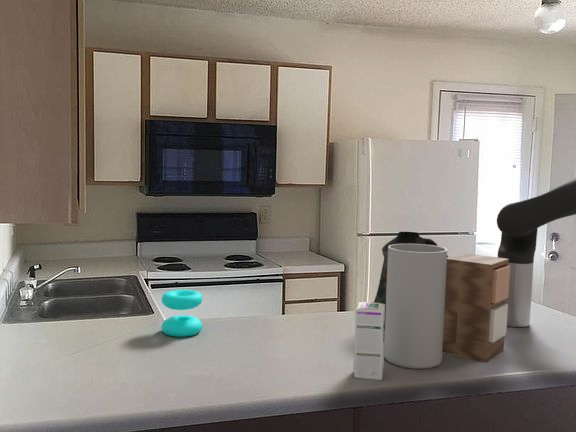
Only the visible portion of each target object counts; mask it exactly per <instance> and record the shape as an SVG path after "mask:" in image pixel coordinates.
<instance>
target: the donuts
mask: <svg viewBox="0 0 576 432" xmlns="http://www.w3.org/2000/svg"><path fill="white" fill-rule="evenodd" d="M202 302H203V296H202V294H201V293H200V292H199V291H197V290H191V289H174V290H170V291H167V292H165V293H163V295H162V296H161V303H162V305H163V306H165V308H168V309H170V310H177V311H185V310H192V309H195V308H196V307H199V306H200V305H201V304H202ZM202 329H203V323H202V321H201V320H200V319H199V318H197V317H196V316H192V315H184V314H183V315H175V316H170V317H168V318H166V319H165V320H164V321H163V322H162V324H161V331H162V332H163V334H165V335H167V336H170V337H174V338H186V337H192V336H196V335H197V334H199V333H201V331H202Z"/></svg>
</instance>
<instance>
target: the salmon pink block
mask: <svg viewBox="0 0 576 432" xmlns="http://www.w3.org/2000/svg"><path fill="white" fill-rule="evenodd" d="M509 277H510V266H505V265H502V266H499V267H496V268H493V273H492V291H491V303H497V302H499V301H501V300H504V299H506V298H508V294H509Z"/></svg>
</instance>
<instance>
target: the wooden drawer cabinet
mask: <svg viewBox="0 0 576 432" xmlns="http://www.w3.org/2000/svg"><path fill="white" fill-rule="evenodd" d="M502 265H505V266H509V259H506V258H498V256H489V255H481V254H473V253H467V252H466V253H465V252H462V253H458V254H455V255H451V256H448V257H447V265H446V286H445V306H444V326H443V346H442V353H445V354H449V355H452V356H457V357H460V358H465V359H468V360H473V361H476V362H477V361H478V362H481V363H488V362H489V361H491V360H492V359H494V358H495V357H497V356H498V355H500V354H501V353H502V352H504V350H505V349H504V347H505V336H503V337H502V338H500V339H498V340H497V341H495V342H493V343H492V342H489V326H490V308H492V307H494V306H496V305H499V304H501V303H505V304H506V300H507V298H506V299H504V300H501V301H499V302H497V303H491V291H492V273H493V268H496V267H499V266H502Z"/></svg>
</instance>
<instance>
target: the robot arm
mask: <svg viewBox="0 0 576 432" xmlns="http://www.w3.org/2000/svg"><path fill="white" fill-rule="evenodd" d="M575 215H576V177H574V178H572V179H569V180H568V181H566V182H563V183H562V184H560V185H558V186H556V187H555V188H553V189H550V190H549V191H547V192H545V193H541V194H540V195H537V196H534V197H530V198H528V199H524V200H520V201H516V202H511V203H507V205H505V206H503V207H502V208H501V209H500V210H499V212H498V215H497V216H496V217H497V218H496V226H497V228H498V230H499V231H500V233H501V234H500V235H501V237H500V244H499V247H498V250H497V257H498V258H506V259H509V266H510V277H509V294H508V298H507V300H506V304H508V311H507V327H514V328H522V327H523V328H524V327H528V326H530V321H531V308H532V295H533V294H532V293H533V281H534V280H533V279H534V260H535V259H534V257H535V254H536V250H537V249H536V248H537V238H538V228H540V227H543V226H544V225H547V224H549V223H551V222H554V221H556V220H560V219H563V218H567V217H571V216H575Z"/></svg>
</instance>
